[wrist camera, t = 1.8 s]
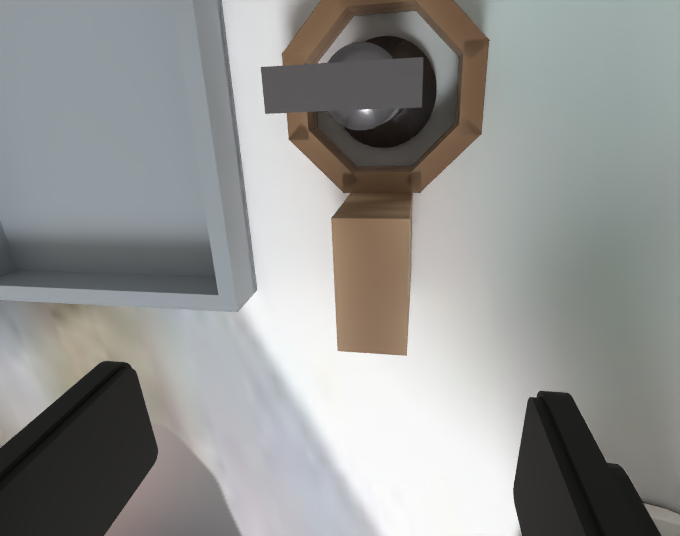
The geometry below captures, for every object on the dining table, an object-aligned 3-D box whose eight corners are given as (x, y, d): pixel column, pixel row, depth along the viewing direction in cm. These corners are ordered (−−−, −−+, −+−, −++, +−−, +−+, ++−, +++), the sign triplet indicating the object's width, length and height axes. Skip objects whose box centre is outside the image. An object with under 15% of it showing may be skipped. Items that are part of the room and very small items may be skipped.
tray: (200, -171, 18) (160, -221, 15) (257, 290, 26) (237, 312, 23) (-123, -114, 21) (-204, -147, 18) (16, 280, 29) (-26, 298, 26)
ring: (488, -23, 18) (525, -93, 12) (463, 290, 23) (480, 360, 17) (289, -4, 20) (226, -56, 13) (310, 284, 25) (272, 346, 19)
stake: (438, 33, 19) (456, -35, 10) (433, 145, 21) (444, 178, 12) (330, 41, 20) (252, -15, 11) (335, 148, 22) (272, 180, 12)
